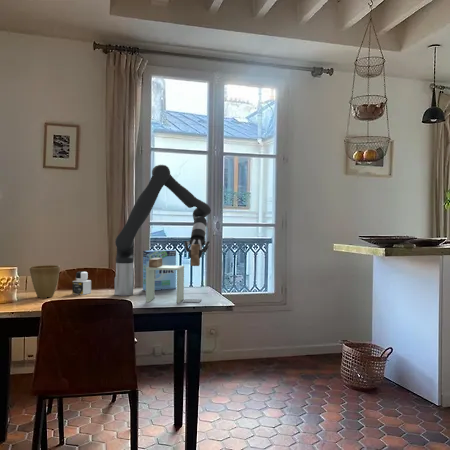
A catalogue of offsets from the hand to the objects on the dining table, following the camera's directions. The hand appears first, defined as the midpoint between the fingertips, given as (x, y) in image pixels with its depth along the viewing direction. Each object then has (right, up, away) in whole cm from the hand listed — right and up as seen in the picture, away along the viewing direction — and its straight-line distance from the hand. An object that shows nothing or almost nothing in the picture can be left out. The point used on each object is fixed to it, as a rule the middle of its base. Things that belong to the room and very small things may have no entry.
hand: (195, 257), depth 235 cm
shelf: (-15, -22, -4) cm, 26 cm away
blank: (0, -5, +2) cm, 5 cm away
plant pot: (-78, -21, +3) cm, 81 cm away
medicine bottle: (-63, -21, +16) cm, 68 cm away
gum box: (-23, -22, +34) cm, 46 cm away
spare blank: (-20, -5, -4) cm, 20 cm away
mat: (-1, -22, -6) cm, 23 cm away
